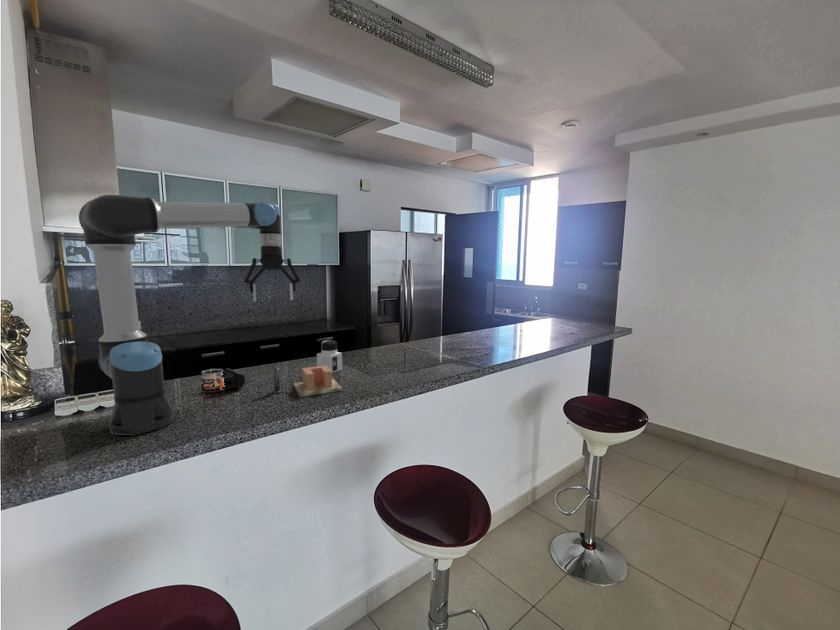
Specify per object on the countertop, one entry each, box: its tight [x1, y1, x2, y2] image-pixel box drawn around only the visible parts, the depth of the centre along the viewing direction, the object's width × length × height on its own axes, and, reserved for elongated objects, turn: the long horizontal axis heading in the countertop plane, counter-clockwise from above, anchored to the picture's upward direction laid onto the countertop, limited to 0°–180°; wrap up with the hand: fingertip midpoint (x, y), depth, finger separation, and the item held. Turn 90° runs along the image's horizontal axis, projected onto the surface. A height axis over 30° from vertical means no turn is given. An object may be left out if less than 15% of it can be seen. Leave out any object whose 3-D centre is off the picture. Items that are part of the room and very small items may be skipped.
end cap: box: [220, 368, 246, 394], centre depth 143 cm, size 10×7×7 cm
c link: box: [301, 365, 333, 391], centre depth 144 cm, size 9×9×6 cm
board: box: [293, 377, 343, 398], centre depth 144 cm, size 15×13×1 cm
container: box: [316, 339, 343, 374], centre depth 167 cm, size 8×8×13 cm
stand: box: [272, 367, 282, 395], centre depth 139 cm, size 3×3×9 cm
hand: (273, 300), depth 151 cm, fingers open, 13 cm apart
